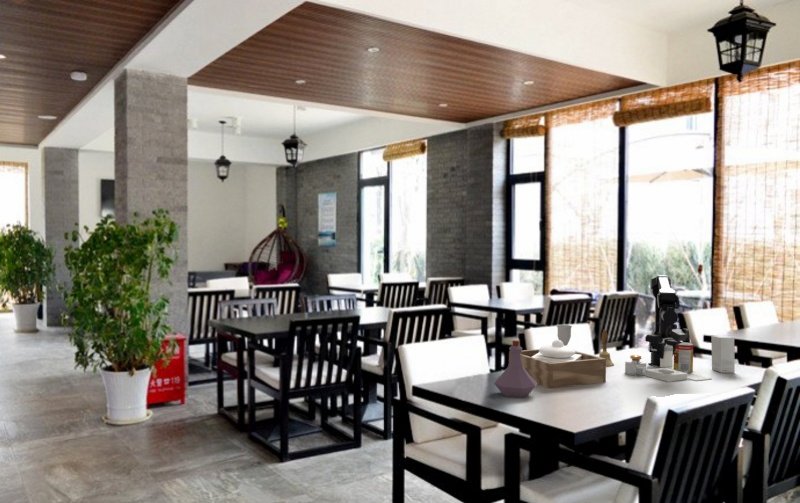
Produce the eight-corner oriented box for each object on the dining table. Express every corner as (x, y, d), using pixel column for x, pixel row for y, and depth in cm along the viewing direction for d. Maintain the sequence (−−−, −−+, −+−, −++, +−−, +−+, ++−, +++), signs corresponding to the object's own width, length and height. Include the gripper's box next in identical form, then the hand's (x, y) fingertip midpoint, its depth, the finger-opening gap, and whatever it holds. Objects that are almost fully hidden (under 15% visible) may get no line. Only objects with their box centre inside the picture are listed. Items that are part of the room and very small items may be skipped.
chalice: (552, 363, 286) (553, 325, 285) (564, 362, 289) (564, 324, 288) (563, 366, 279) (563, 327, 279) (574, 365, 282) (575, 326, 282)
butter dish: (529, 379, 252) (529, 340, 252) (540, 370, 268) (541, 334, 268) (572, 384, 244) (573, 344, 244) (581, 375, 260) (582, 338, 260)
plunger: (627, 371, 266) (628, 355, 266) (635, 370, 268) (635, 354, 267) (635, 373, 262) (635, 357, 262) (643, 372, 264) (643, 356, 263)
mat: (678, 376, 260) (678, 375, 260) (693, 374, 264) (693, 374, 264) (696, 381, 252) (696, 380, 252) (711, 379, 255) (711, 378, 255)
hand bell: (595, 365, 282) (595, 331, 282) (595, 362, 290) (595, 328, 290) (614, 366, 280) (615, 332, 279) (613, 363, 288) (614, 329, 287)
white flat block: (645, 375, 262) (645, 369, 262) (664, 373, 266) (664, 367, 266) (667, 381, 251) (667, 375, 251) (687, 379, 255) (687, 373, 255)
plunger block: (625, 373, 266) (625, 361, 266) (635, 371, 269) (635, 360, 269) (635, 375, 261) (635, 364, 261) (646, 374, 263) (646, 363, 263)
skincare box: (734, 373, 268) (735, 337, 268) (719, 373, 268) (720, 337, 268) (725, 369, 276) (725, 334, 276) (710, 369, 276) (710, 334, 276)
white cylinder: (657, 365, 259) (657, 344, 259) (665, 365, 261) (666, 344, 261) (666, 368, 255) (666, 346, 255) (675, 367, 257) (675, 345, 257)
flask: (506, 387, 239) (507, 336, 239) (545, 393, 229) (546, 340, 228) (484, 395, 227) (485, 341, 226) (524, 402, 216) (525, 346, 216)
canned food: (688, 368, 277) (689, 342, 277) (695, 372, 269) (696, 345, 269) (670, 368, 278) (671, 341, 277) (677, 371, 270) (677, 344, 270)
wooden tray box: (508, 373, 263) (509, 351, 263) (561, 368, 275) (561, 347, 274) (549, 388, 238) (549, 363, 238) (605, 381, 249) (606, 358, 249)
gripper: (666, 324, 247) (665, 363, 247) (699, 322, 254) (698, 360, 255) (644, 321, 257) (644, 358, 257) (677, 319, 264) (676, 355, 265)
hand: (666, 358), depth 258 cm, fingers closed on white cylinder, 5 cm apart
